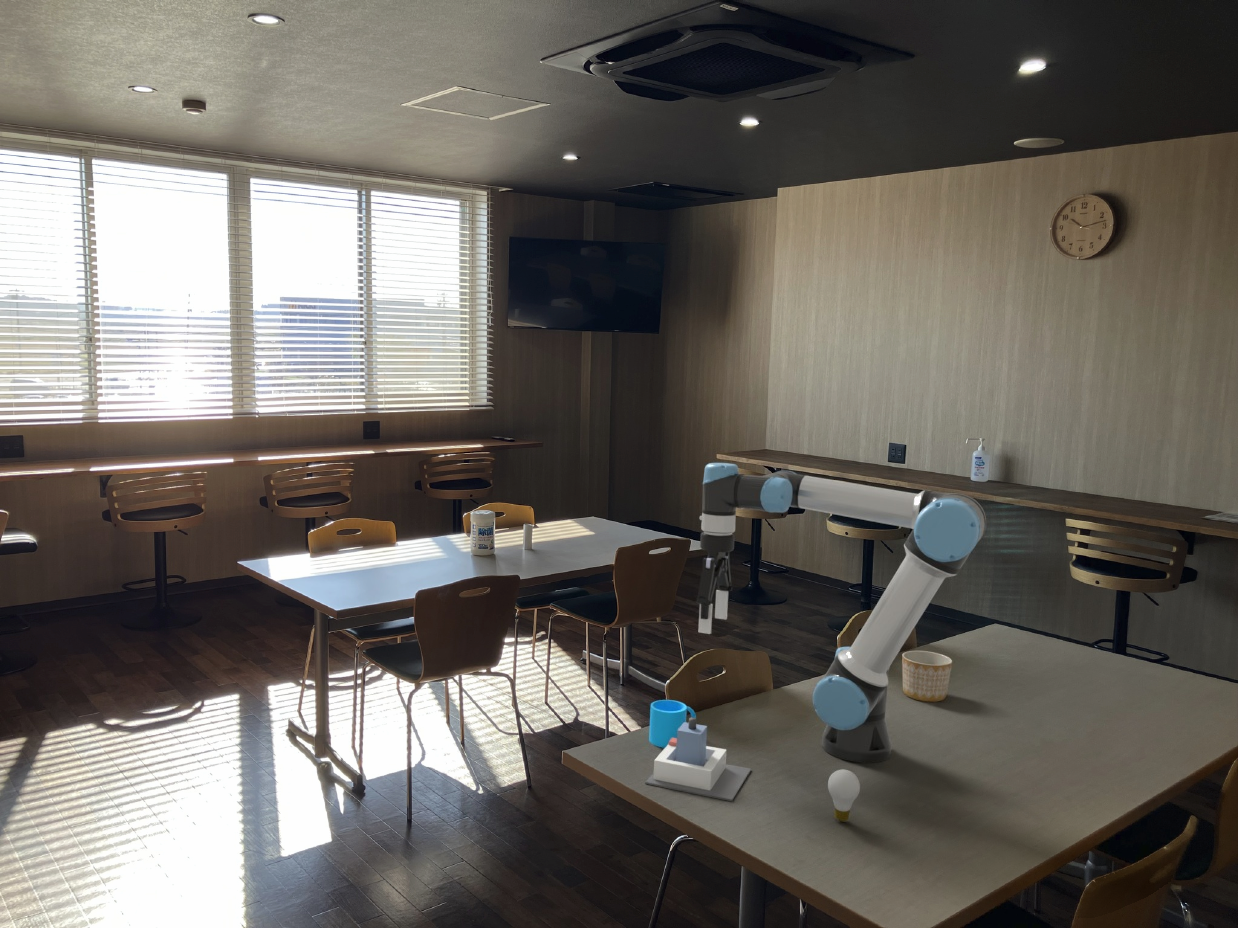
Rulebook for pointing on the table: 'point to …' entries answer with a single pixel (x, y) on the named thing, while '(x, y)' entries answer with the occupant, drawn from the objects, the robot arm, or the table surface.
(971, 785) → the table surface
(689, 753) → the plug
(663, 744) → the mug
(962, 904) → the table surface
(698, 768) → the socket
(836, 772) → the light bulb
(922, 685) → the planter
